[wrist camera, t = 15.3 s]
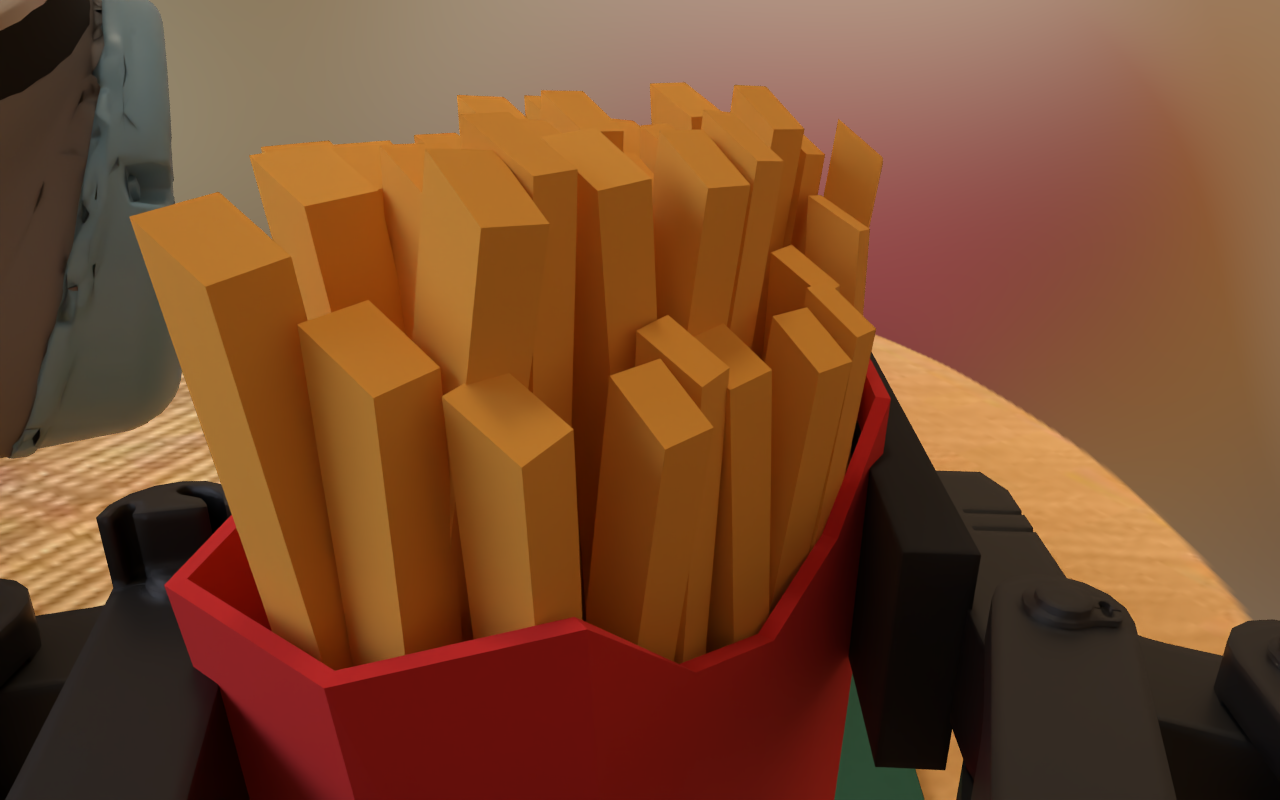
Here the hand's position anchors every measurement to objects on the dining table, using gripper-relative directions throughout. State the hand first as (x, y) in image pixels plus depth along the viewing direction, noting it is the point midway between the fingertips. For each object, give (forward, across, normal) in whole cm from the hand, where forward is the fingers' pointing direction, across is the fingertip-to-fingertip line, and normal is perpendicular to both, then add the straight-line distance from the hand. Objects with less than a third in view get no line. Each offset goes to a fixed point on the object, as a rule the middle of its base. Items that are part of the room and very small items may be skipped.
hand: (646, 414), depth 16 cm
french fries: (-5, 0, -8) cm, 9 cm away
